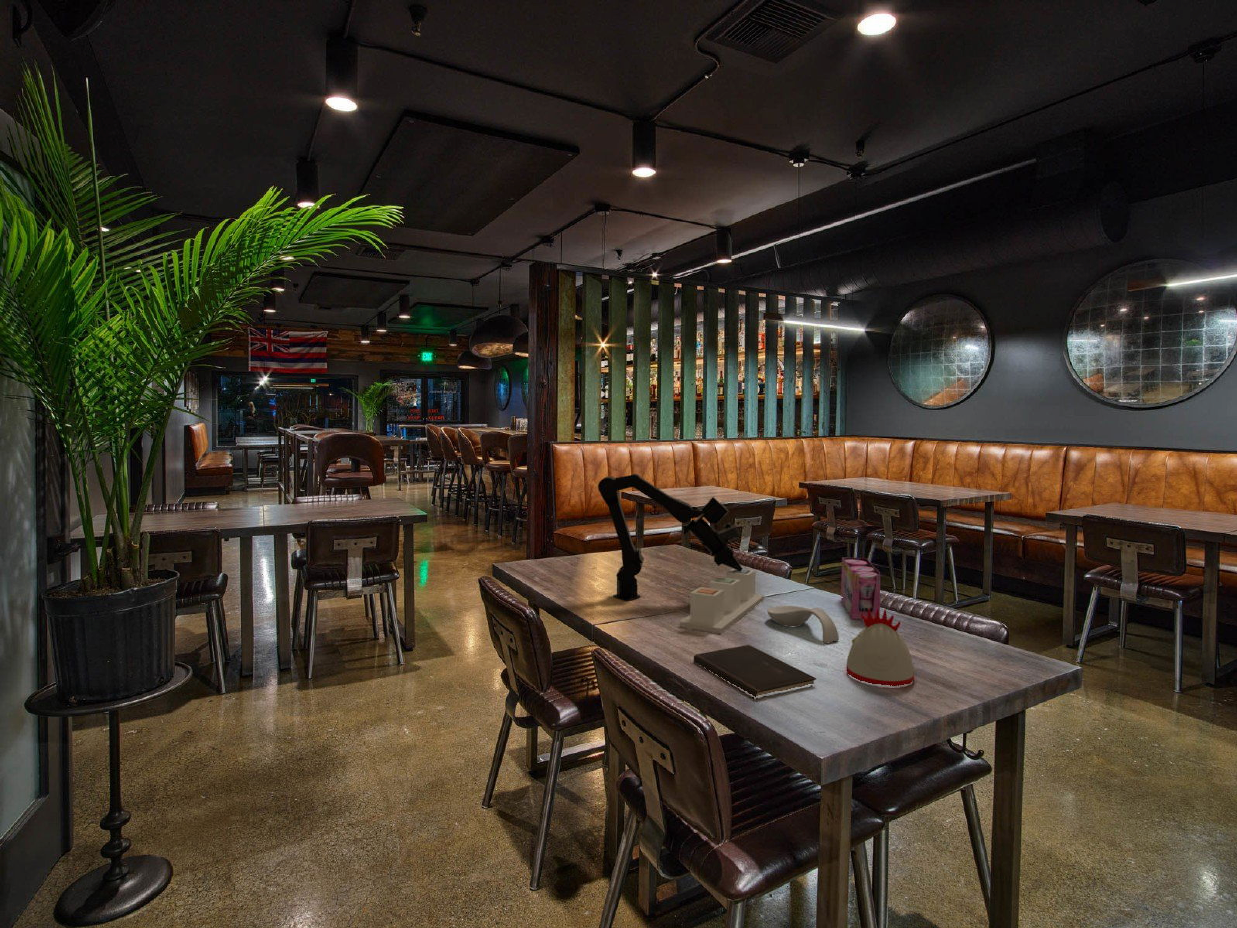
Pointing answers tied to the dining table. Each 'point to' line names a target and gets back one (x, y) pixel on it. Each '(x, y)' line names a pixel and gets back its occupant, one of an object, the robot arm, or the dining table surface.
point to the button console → (722, 603)
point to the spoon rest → (804, 619)
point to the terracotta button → (707, 591)
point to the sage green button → (725, 580)
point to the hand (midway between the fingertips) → (741, 569)
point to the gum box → (860, 587)
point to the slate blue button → (741, 571)
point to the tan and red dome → (880, 653)
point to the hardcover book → (753, 670)
